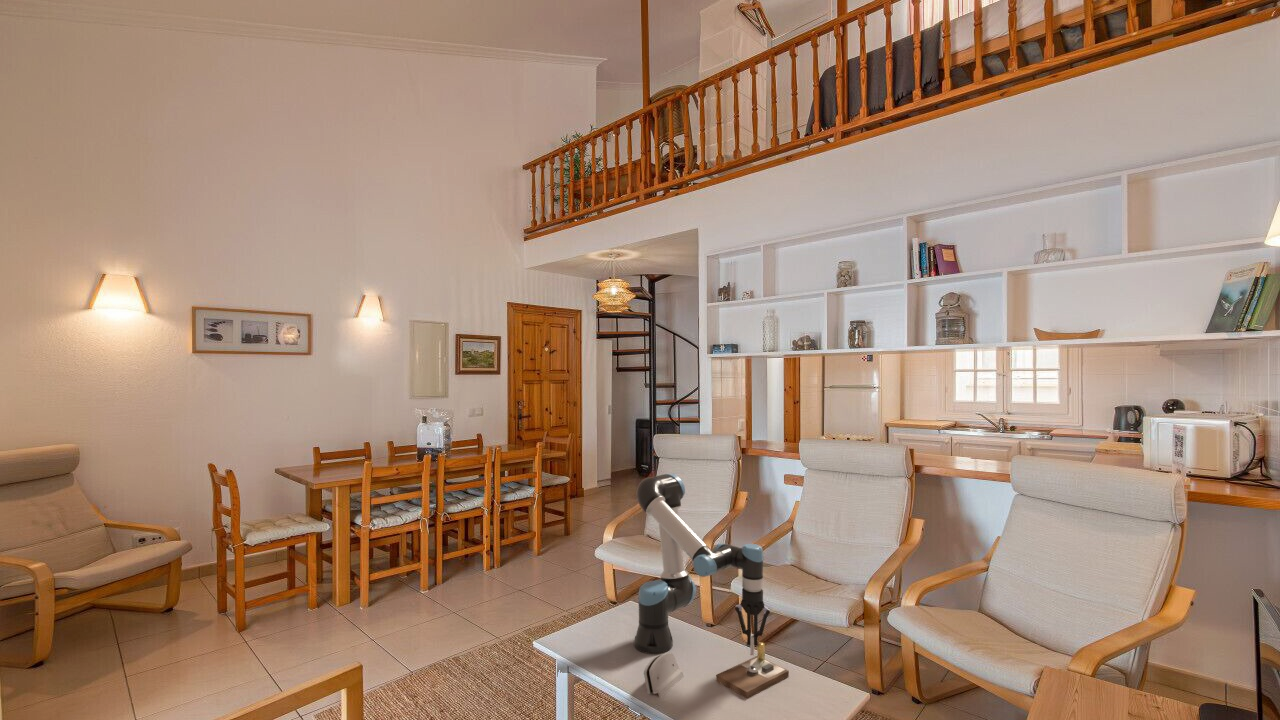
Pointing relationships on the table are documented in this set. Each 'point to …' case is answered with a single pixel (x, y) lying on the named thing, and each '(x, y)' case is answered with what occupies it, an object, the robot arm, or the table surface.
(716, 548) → the robot arm
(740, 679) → the board
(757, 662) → the swing bar
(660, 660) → the hinge
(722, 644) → the table surface
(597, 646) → the table surface
